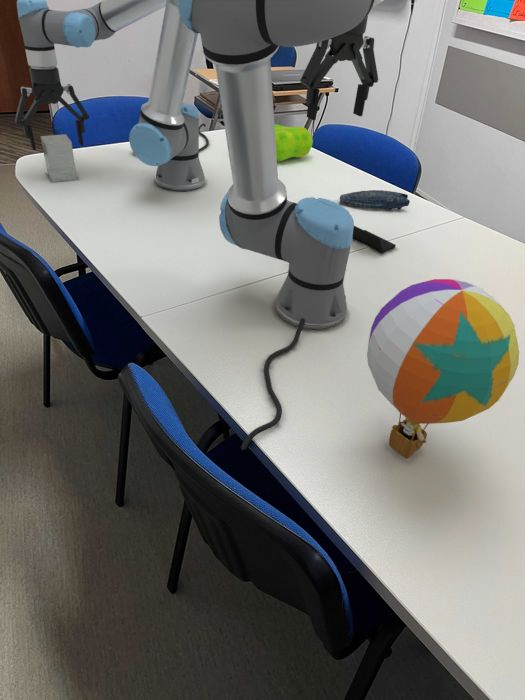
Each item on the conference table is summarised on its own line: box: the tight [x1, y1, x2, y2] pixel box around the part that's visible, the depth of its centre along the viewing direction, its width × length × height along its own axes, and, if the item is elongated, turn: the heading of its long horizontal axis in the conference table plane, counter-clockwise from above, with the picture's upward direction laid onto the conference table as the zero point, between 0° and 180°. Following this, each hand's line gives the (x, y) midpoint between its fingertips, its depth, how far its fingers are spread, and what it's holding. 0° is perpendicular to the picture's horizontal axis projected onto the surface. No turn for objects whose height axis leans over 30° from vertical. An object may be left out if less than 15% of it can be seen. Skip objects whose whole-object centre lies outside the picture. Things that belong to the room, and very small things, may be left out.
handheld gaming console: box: [352, 225, 397, 255], centre depth 137 cm, size 12×7×10 cm
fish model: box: [339, 189, 411, 211], centre depth 158 cm, size 7×21×5 cm, turn 84°
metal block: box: [40, 133, 78, 183], centre depth 157 cm, size 7×7×11 cm
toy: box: [366, 278, 520, 459], centre depth 74 cm, size 20×20×30 cm
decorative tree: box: [274, 123, 314, 163], centre depth 185 cm, size 18×10×30 cm
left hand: (58, 146), depth 155 cm, fingers open, 13 cm apart
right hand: (334, 116), depth 123 cm, fingers open, 13 cm apart
